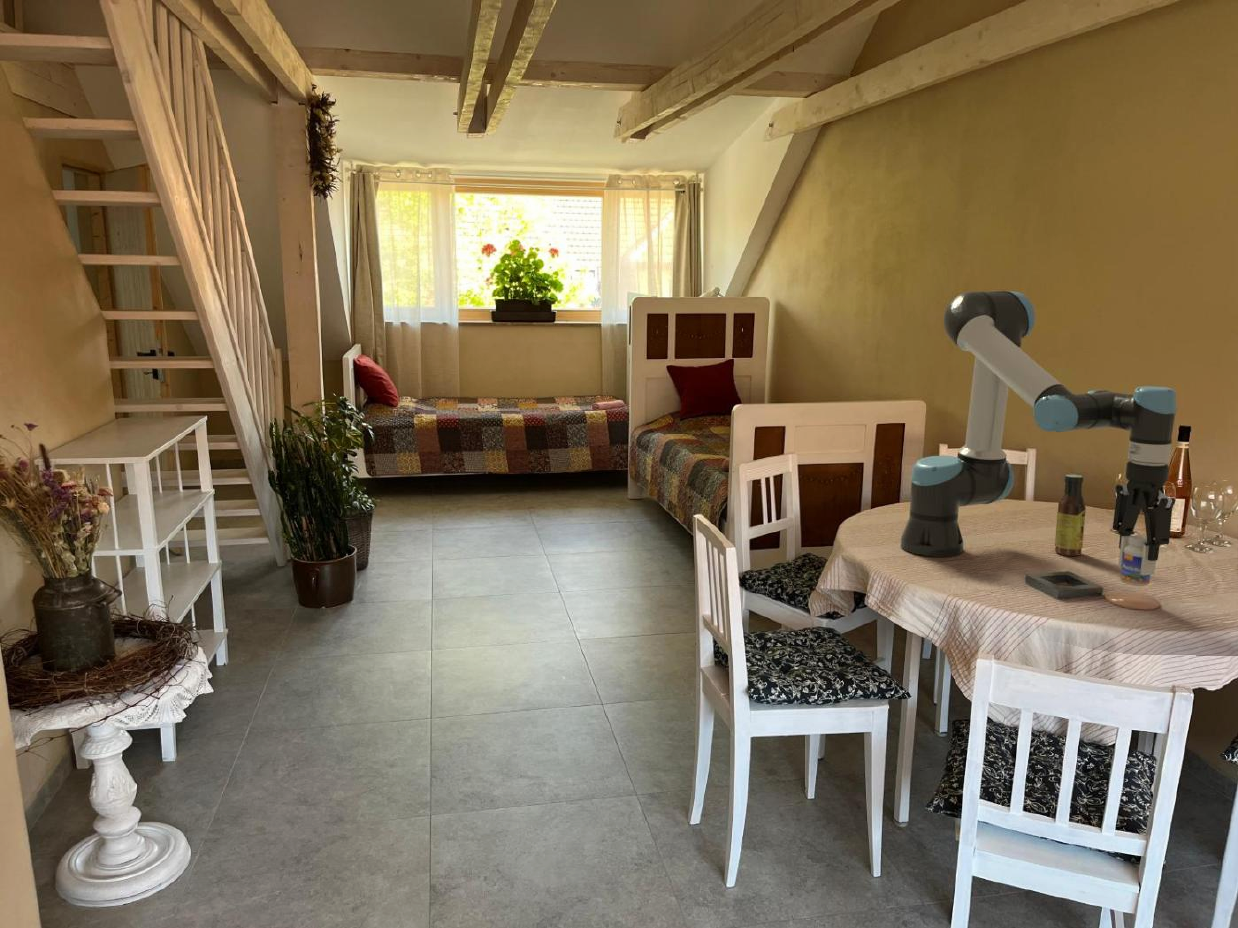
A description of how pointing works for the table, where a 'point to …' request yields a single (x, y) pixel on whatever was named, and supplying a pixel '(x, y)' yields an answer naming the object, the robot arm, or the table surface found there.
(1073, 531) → the sauce bottle
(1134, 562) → the pill bottle
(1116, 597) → the coaster
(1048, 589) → the socket plate
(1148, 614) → the table surface
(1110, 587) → the table surface
